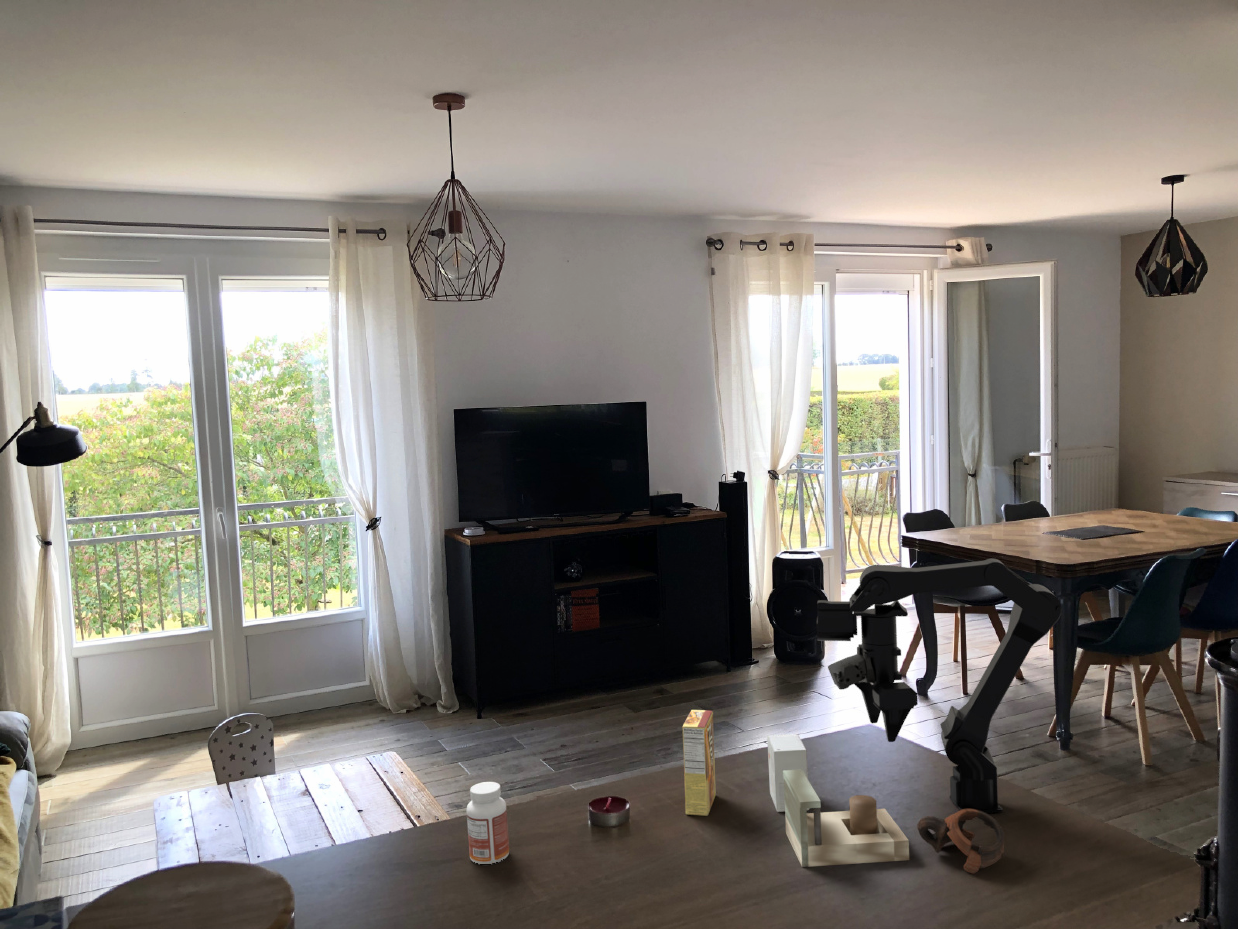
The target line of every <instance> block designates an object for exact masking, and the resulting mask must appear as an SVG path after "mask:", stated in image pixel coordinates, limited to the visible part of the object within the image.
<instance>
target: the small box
mask: <svg viewBox="0 0 1238 929" xmlns="http://www.w3.org/2000/svg"><path fill="white" fill-rule="evenodd" d="M766 740H767V756H768V757H767V758H768V775H769V776H768V778H769V779H768V780H769V794H770V796H771V799H772V802H773V805H774V807H775V810H776V812H777V813H780V812H781V813H782V812H785V794H784V777H783V771H785V770H801V769H802V771H803V773H804V774H805V776H806V778H807V779H808V780H809V776H808V775H809V774H808V756H807V755H808V754H807V752H808V751H807V749H806V746H805V744H804V743H803V740H802V739H801V737H800V735H799V734H795V733H794V734H776V735H775V734H774V735H770V734H769V735H767V739H766ZM807 811H810V808H807Z"/></svg>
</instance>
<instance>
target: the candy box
mask: <svg viewBox="0 0 1238 929" xmlns="http://www.w3.org/2000/svg"><path fill="white" fill-rule="evenodd" d="M714 737H715V735H714V711H713V710H707V709H706V710H704V709H703V710H702V709H690V712H689V713H688V715H687V717H686V719H685V721H684V722H683V725H682V745H683V746H682V747H683V748H682V749H683V771H684V772H683V774H684V776H683V777H684V778H683V779H684V804H685V805H684V808H685V815H687V816H689V815H690V816H701V817H702V816H705V817H708V816H709V813H710V811H711V809H712V807H713V803H714V801H715V797H716V773H715V772H716V770H715V769H716V768H715V739H714Z"/></svg>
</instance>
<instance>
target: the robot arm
mask: <svg viewBox="0 0 1238 929" xmlns="http://www.w3.org/2000/svg"><path fill="white" fill-rule="evenodd" d="M988 586H989V587H993V588H995V589H996V590H997V591H999V592H1000V593H1001V594H1003V595H1004V596H1005V597H1007V598H1008V599H1009V600H1010V601H1011V602H1013V605H1012V608H1011V612H1010V616H1009V621H1008V627H1007V629H1006V630H1007V631H1006V633H1005V635H1004V636H1003V638H1002V640H1001V641H1000V643H999V645H998V647H997V648H996V651H995V652H994V655H993V657H992V658H991V659H990V661H989V663H988V666H987V667H986V669H985V671H984V673H983V675H981V678H980V679H979V681H978V683H977V685H976V687H975V688H974V690H973V692H972V694H971V695H970V697H969V699H968V701H967V702H966V703H965V704H964V705H963V706H962V707H961V708H960V709H958V708H956V707H955V706H953V705H951V706H950V708H949V710H948V714H947V716H946V718H945V720H944V721H942V722H940V725H939V726H940V729H941V733H940V735H941V741H942V744H943V748H944V752H945V754H946V756H947V757H946V758H948V760H949V761H950V762H952V764H954V766H952V775H951V776H950V777H949V784H950V795H949V800H950V801H951V802H952V803H953V804H954V805H955V806H956V807H957V808H958V809H959V811H960V810H962V809H975V810H978V811H982V812H984V813H986V814H988V813H1002V812H1003V807H1002V806H1001V805H1000V804H999V796H998V795H999V792H998V791H999V790H998V768H997V764H996V763H995V760H994V758H993V755H992V753H991V750H990V748H989V747H988V746H986V743H987V740H988V737H989V736H988V735H989V731H990V727H991V721H992V719H993V717H994V715H995V713H996V712H997V710H998V708H999V706H1000V704H1001V702H1002V701H1003V698H1004V697H1005V695H1006V694H1007V691H1008V690H1009V689H1010V688H1009V687H1010V686H1011V685H1012V683H1013V681H1014V679H1015V678H1016V675H1017V674H1018V672H1019V670H1020V668H1021V667H1022V665H1023V663H1024V662H1025V660H1026V658H1027V656H1028V655H1029V652H1031V651H1030V650H1031V649H1032V647H1033V646H1034V645H1035V644H1036V643H1037V642H1039V641H1040V640H1041V639H1043V638H1044V637H1045V636H1046V635H1047V634H1048V633H1049V631H1051V630H1052V628H1053V627H1054V626H1055V624H1056V623H1057V622H1058V621H1059V620H1060V619H1061V616H1062V612H1063V608H1062V605H1061V602H1060V600H1059V598H1058V597H1057V596H1056V595H1055V594H1054V593H1053V592H1051V590H1049V589H1048V588H1047V587H1045V586H1044V585H1041V584H1039V583H1029V582H1028V581H1026V580H1025V579H1024V578H1023V577H1021V576H1020V575H1019V574H1017V573H1016V572H1014V571H1012V570H1011V569H1010V568H1008V567H1007V566H1006V565H1005V564H1004V563H1003V562H1002V561H1001V560H999V559H997V558H987V559H985V560H977V561H970V562H959V563H950V564H949V563H948V564H942V565H941V564H940V565H932V566H921V567H907V566H899V565H887V564H873V565H872V564H871V565H868V566H867V567H865V569H864V570H863V571H862V572H861V574H860V577H859V585H858V587H857V588H856V590H855V591H854V592H853V593H852V594H851V596H850V597H849V601H842V600H841V601H839V600H837V601H833V600H832V601H831V600H826V599H824V600H823V599H821V600H820V599H818V600H817V603H816V604H817V617H816V640H817V641H818V642H819V641H821V642H833V641H834V642H851V640H852V639H854V638H855V637H854V636H858V617H860V627H861V628H860V630H861V644H858V646H857V647H856V652H857V653H856V654H853V655H851V656H847V657H845V658H843V659H841V660H840V659H839V660H838V661H835V662H833V663H831V664H828V666H827V669H828V671H829V674H830V676H831V679H832V681H833V683H834V685H835V686H836V687H837V689H839V690H842V691H843V690H846V689H848V688H849V687H850V686H852V685H854V686H855V687H856V688H858V689H859V691H860V692H861V694H862V698H863V701H864V705H865V707H866V708H865V709H866V712H867V716H868V719H869V721H870V723H871V724H877V723H878V721H879V718H880V715H881V714H882V718H883V719H882V720H883V723H884V730H885V734H886V740H887V742H889V743H893V742H896V740H897V738H898V735H899V733H901V732H900V731H901V729H902V727H903V725H904V724H905V721H906V719H907V717H908V715H909V714H910V713H911V710H912V709H914V707H916V706H917V705H918V693H917V691H916V690H914V689H913V688H912V687H911V686H910V685H908V684H907V683H906V682H905V681H902V680H903V674H902V672H900V671H899V668H898V657H901V656H902V649H901V648H899V647H898V637H897V636H898V634H897V632H898V631H897V617H908V615H909V612H908V609H907V608H906V607H904V606H903V605H902V604H901V602H900V600H903V599H905V598H908V597H910V596H912V595H917V594H920V593H921V594H922V593H929V592H930V593H931V592H932V593H933V592H941V591H950V590H959V589H961V590H962V589H970V588H981V587H988ZM889 603H890V604H889ZM872 606H873V607H874V608H871V607H872ZM895 681H898V682H895ZM899 681H900V682H899Z"/></svg>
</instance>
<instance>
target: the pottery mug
mask: <svg viewBox="0 0 1238 929" xmlns="http://www.w3.org/2000/svg"><path fill="white" fill-rule="evenodd" d="M976 818H977V819H980V820H981V821H982V822H983V824H984V825H985V826H987V827H990V828H991V829H992V830H994V832H995V834H996V837H997V840H996V842H995V843H994V844H992V845H989V846H984V845H979V848H978V851H976V850H973V849H972V842H973V839H974V838H975V836H976V834H975V833H973V831H969V830H967V829H965V828H964V825H965V824H966V822H967V821H972V820H974V819H976ZM916 825H917V826H916V828H917V831H918V834H919V836H920V837H921V838H922V839H923V841H925V842H926V843H927V844H929V845H930V846H931V847H932V848H933V850H934V852H936V854H937V853H940V852H941V850H942V848H943V847H944V846H945V845H946V844H949V843H951V842H952V843H953V844H954V845H955V846H956V847H957V849H958V850H960V852H962V853H963V854H964V855H965V856H967V858H966V862H965V863H964V864H963V870H964V871H966V872H968V873H970V874H975V873H977V872H978V871H979V870H980V869H986V868H987V867H990V866H992V865H994V864H995V863H997V862H998V861H999V860H1001V859H1002V855H1003V854H1004V850H1005V834H1004V830H1003V828H1002V827H1001V825H1000V824H999V823H998V821H997V820H996V819H995V818H994V817H993V816H992V815H990V814H988V813H984V812H982V811H978V810H975V809H962V810H960V809H959V810H958V811H956V812H955V813H952V814H950V815H948V816H947V817H945V818H943V819H942V818H939V817H937V816H932V815H930V816H929V815H928V816H923V817H922V818H921V819H920V820H919V821H918V823H917V824H916ZM930 830H931V831H933V832H934V833H932V832H931V831H930Z"/></svg>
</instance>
